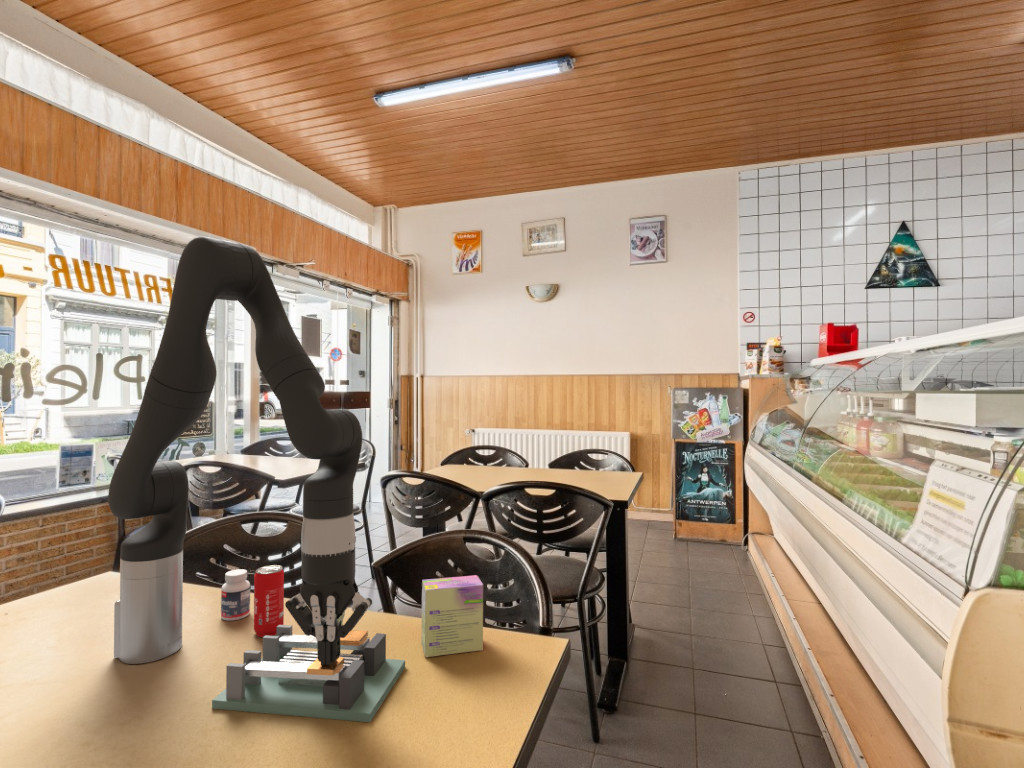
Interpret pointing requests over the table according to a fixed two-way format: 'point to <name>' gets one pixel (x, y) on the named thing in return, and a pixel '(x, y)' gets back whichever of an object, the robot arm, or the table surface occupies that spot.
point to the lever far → (350, 642)
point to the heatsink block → (310, 657)
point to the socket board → (335, 700)
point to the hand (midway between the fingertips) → (329, 663)
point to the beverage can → (268, 600)
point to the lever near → (295, 669)
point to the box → (452, 615)
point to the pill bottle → (235, 595)
